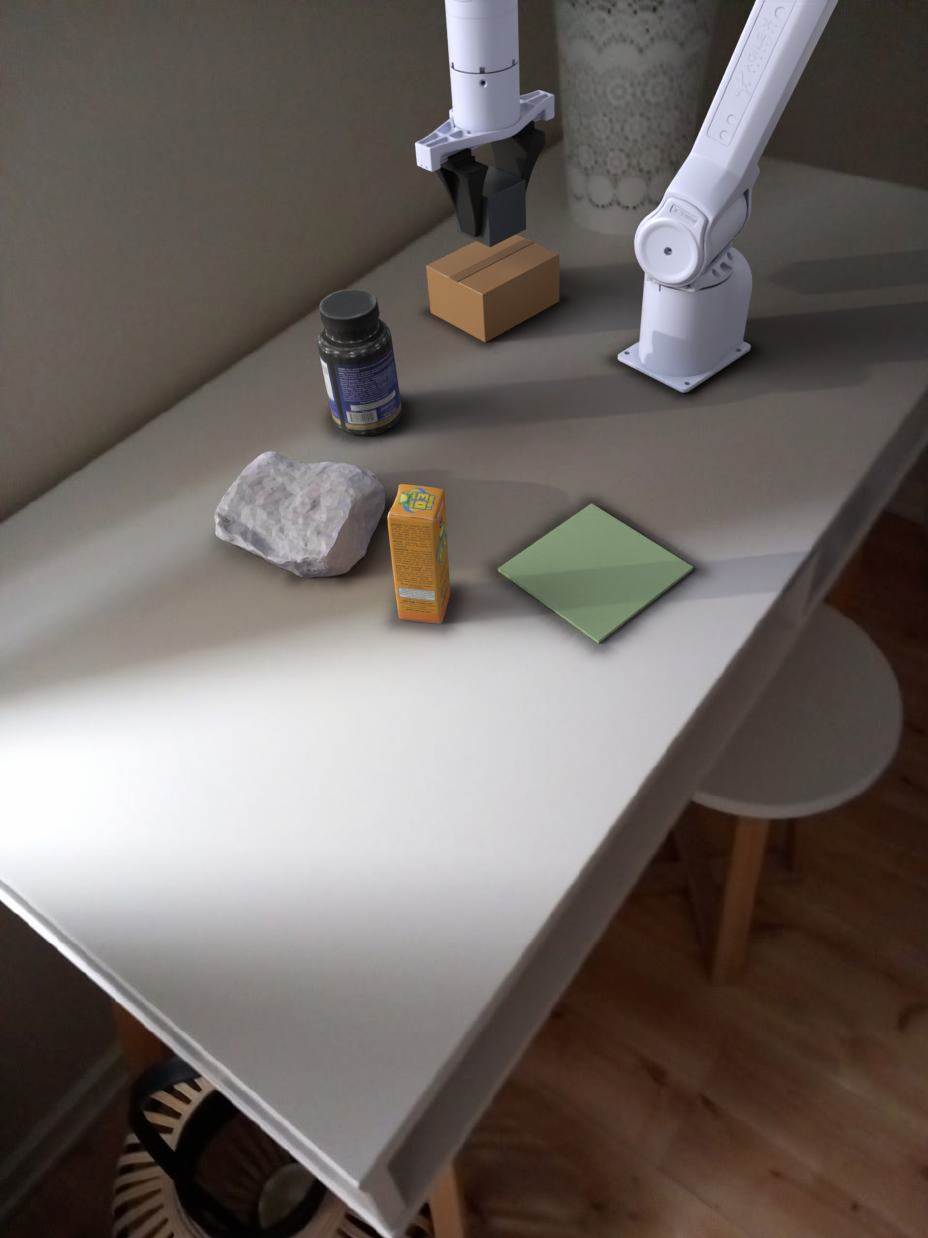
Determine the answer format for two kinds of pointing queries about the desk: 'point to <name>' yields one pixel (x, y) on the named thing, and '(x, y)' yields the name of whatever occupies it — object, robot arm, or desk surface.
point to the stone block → (302, 513)
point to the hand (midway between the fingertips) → (491, 222)
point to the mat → (595, 571)
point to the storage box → (493, 285)
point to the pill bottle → (358, 363)
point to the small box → (501, 207)
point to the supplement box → (420, 553)
